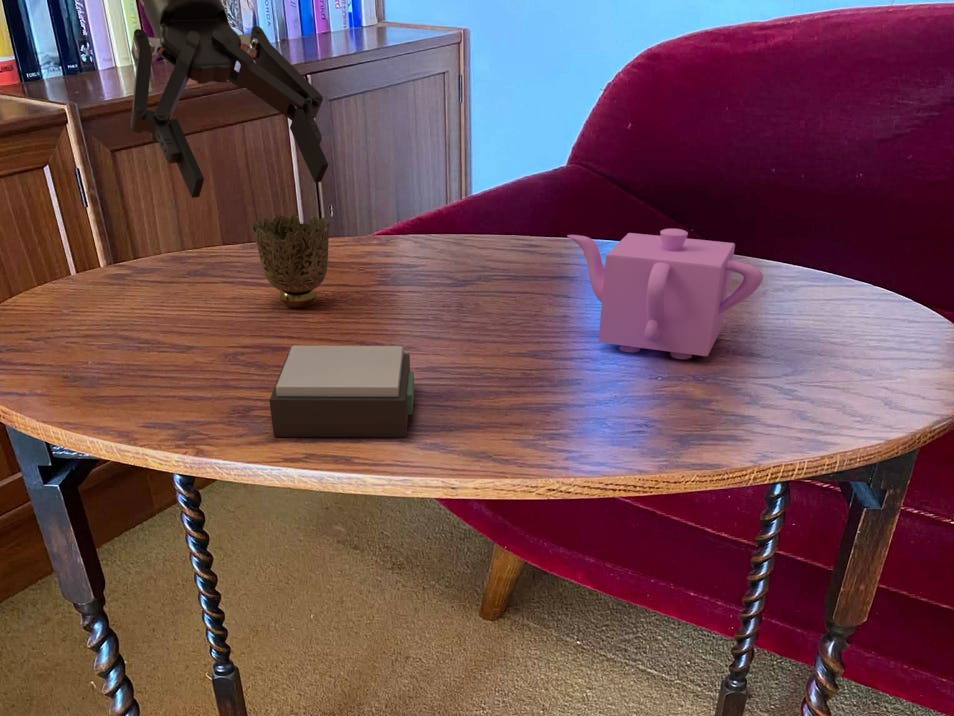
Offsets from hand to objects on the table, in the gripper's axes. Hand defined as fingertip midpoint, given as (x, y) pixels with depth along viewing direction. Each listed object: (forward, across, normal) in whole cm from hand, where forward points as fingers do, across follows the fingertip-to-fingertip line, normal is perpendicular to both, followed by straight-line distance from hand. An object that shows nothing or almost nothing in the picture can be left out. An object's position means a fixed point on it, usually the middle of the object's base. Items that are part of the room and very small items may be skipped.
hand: (262, 181), depth 97 cm
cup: (+12, 0, -4) cm, 12 cm away
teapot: (+32, -22, +17) cm, 43 cm away
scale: (+31, +10, +16) cm, 36 cm away
